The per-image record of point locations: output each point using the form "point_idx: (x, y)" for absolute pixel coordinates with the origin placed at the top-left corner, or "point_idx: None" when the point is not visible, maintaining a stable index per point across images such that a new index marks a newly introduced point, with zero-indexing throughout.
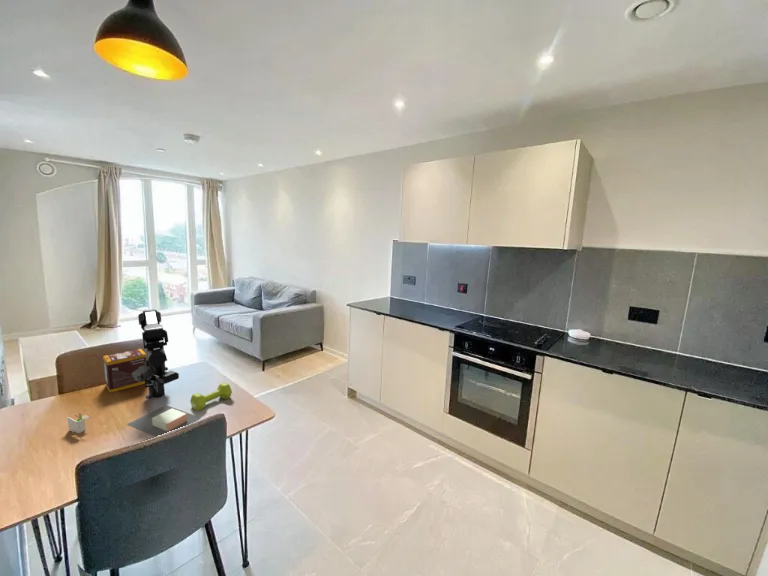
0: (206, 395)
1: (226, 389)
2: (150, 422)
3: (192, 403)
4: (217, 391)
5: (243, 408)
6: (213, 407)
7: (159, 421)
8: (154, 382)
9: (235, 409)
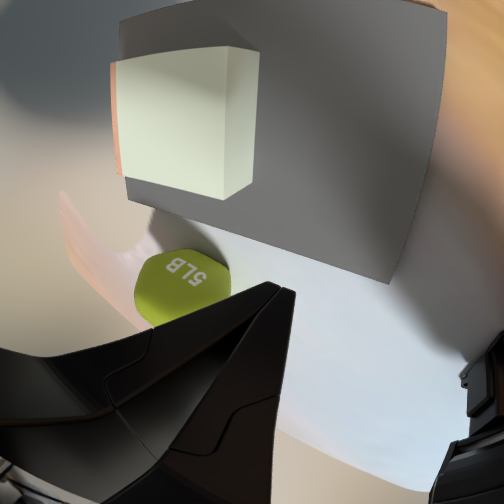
0: None
1: None
2: (305, 68)
3: (190, 277)
4: None
5: (110, 281)
6: None
7: (161, 53)
8: (179, 440)
9: (118, 275)
